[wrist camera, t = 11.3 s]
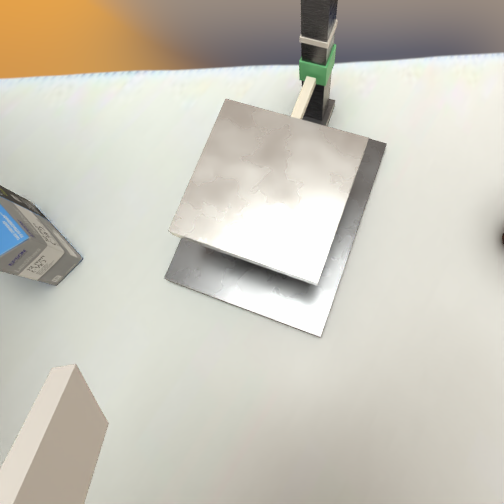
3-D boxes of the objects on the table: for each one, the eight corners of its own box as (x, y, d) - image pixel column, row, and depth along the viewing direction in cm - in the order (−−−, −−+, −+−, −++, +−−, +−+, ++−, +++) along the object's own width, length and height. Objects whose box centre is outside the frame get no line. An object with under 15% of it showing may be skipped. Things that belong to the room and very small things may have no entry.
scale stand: (167, 280, 41) (84, 229, 26) (251, 84, 45) (223, -61, 30) (320, 337, 38) (330, 318, 23) (394, 121, 42) (444, -17, 27)
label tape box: (85, 260, 43) (0, 219, 31) (54, 289, 42) (-44, 260, 30) (34, 202, 45) (-63, 144, 33) (4, 230, 44) (-106, 181, 33)
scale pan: (190, 252, 40) (168, 230, 33) (252, 104, 43) (243, 58, 37) (315, 297, 38) (317, 282, 31) (371, 137, 41) (384, 93, 34)
